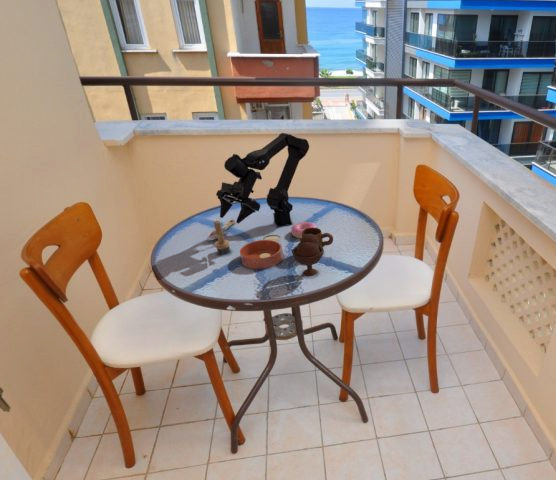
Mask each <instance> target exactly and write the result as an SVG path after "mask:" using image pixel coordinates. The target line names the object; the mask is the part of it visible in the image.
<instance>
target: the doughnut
mask: <svg viewBox="0 0 556 480" xmlns="http://www.w3.org/2000/svg"><path fill="white" fill-rule="evenodd" d="M307 228H318V227H317V225H316V224H315V223H313V222H310V221H301V222H297V223H295V224H293V225H292V226H291V230H290V231H291V234H292V236H293V237H295V238H297V239H301V238H302V231H303V230H304V229H307Z"/></svg>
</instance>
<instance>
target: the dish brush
mask: <svg viewBox="0 0 556 480" xmlns="http://www.w3.org/2000/svg"><path fill="white" fill-rule="evenodd" d="M221 224H222V223H221V221H219V220H215V221H214V222H213V225H214V229H215V230H216V234H217V238H216V239H217V241H215V242H214V245H215V248H216V251H217V254H218V255H221V256H225V255H228V254H230V253H231V248H230V241H229V240H228V239H225V236H224V235H223V232H222V228H221V227H222V225H221Z"/></svg>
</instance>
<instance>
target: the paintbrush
mask: <svg viewBox="0 0 556 480" xmlns="http://www.w3.org/2000/svg"><path fill="white" fill-rule="evenodd" d="M235 223H236V221H235V219H230V220H229V221H227V223H225V224H224V225H223V226H221V228H222V232H223V236H224V235H227V232H226V230H228V229H229V228H230V227H231V226H232V225H234V224H235ZM216 239H218V238H217V234H216V230H215V228H214V229H213V231H212V232H211V233H210V234H209V235H208V237H207V238H206V241H207V240H208V241H213V240H216Z"/></svg>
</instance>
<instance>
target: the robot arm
mask: <svg viewBox="0 0 556 480" xmlns="http://www.w3.org/2000/svg"><path fill="white" fill-rule="evenodd" d="M286 147H287V149H286V150H287V154H288V156H287V158H286V160H285V163H284V166H283V167H282V171H281V174H280V175H279V178H278V182H277V183H276V186H275V187H274V188H273V187H270V188H269V190H268V193H267V195H266V203H267V206H268V207H269V209H270V210H271V211H273V212H272V214H273V221H274V224H275V225H276V226H277V227H283V226H284V227H285V226H291V225H293V222H292V220H291V219H292V218H291V211H293V207H294V205H293V204H292V203H290V202H289V189H290V186H291V184H292V181H293V178H294V175H295V174H296V171H297V168H298V167H299V163H300V161H301V160H302V159H304V158H305V157H306V156H307V154H308V152H309V150H310V143H309V141H308V140H307V139H306V138H301V137H297V136H294V135H292V134H291V133H285V132H281V133H279V134H278V136H277V137H276V138H274V139H272V140H271V141H270V142H269V143H268V144H266V145H264V146H263V147H262V148H260V149H256V150H253V151H251V152H249V153H247V154H246V156H244V157H243V158H242V157H241V156H240V155H239V154H236V153H233V154H232V156H230V157H229V158H227V159H226V160H225V161H224V164H223V165H224V169H225V170H226V171H227V172H229V173H230V174H232V175H233V176H234V177H236V178H237V179H238V181H234V182H233V183H228V182H221V187H220V189H218V190H217V192H216V194H215V196H217V199H218V200H219V201H220V210H219V218H220V219H223V218H224V217H225V216H226V215H227V214H228V212H229V211H230V210H231V208H232V207H233V205H234V204H233V203H235V202H236V203H239V204H240V211H239V213H238V216H237V218H236V221H235V223H237V224H240V223H242V222H243V221H244V220H246V219H247V218H249V216H250V215H252V214H254V213H257V212H259V211H260V209H261V203H259V202H258V201H257V200H255V199H254V198H252V197H250V196H251V194H254V192H255V190H254V189H253V188H254V186H255V184H256V182H257V180H261V181H262V180H263V177H262V175H261V172H260V171H263V170H265V169H266V168H267V167H268V166H269V164H270V161H271V159H272V158H273V157H275V156H276V155H278V154H279V153H280V152H281V151H283V150H284V149H285V148H286ZM256 170H257V171H256Z"/></svg>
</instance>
